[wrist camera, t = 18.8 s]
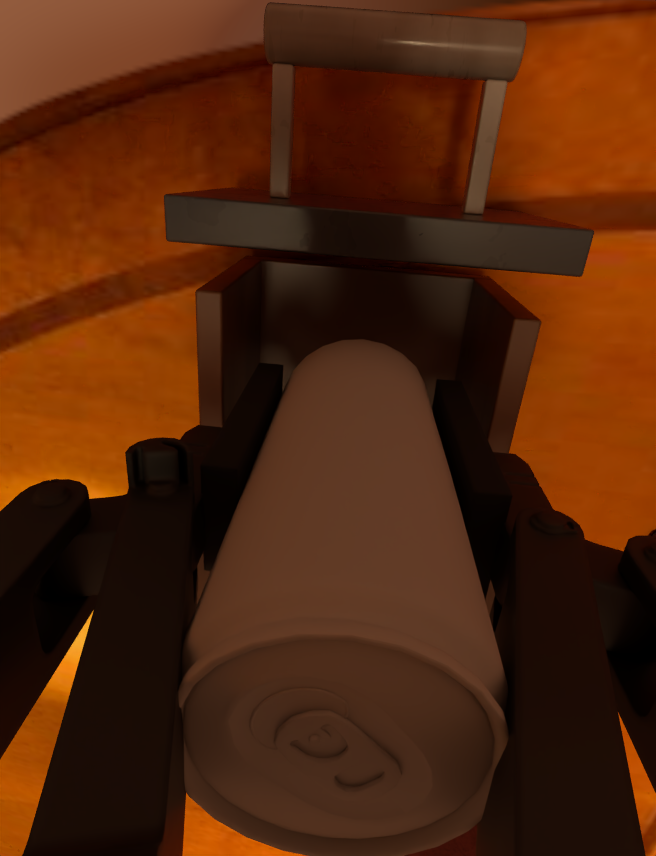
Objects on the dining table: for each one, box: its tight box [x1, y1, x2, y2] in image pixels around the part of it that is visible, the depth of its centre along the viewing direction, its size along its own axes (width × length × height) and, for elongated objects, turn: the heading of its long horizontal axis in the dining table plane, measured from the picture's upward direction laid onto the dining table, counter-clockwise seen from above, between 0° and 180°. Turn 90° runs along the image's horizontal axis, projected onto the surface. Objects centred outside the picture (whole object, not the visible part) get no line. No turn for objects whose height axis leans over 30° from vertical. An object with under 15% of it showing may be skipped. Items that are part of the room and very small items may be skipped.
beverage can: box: [178, 339, 509, 856], centre depth 12 cm, size 5×5×12 cm
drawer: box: [164, 3, 594, 453], centre depth 19 cm, size 18×11×8 cm, turn 176°
